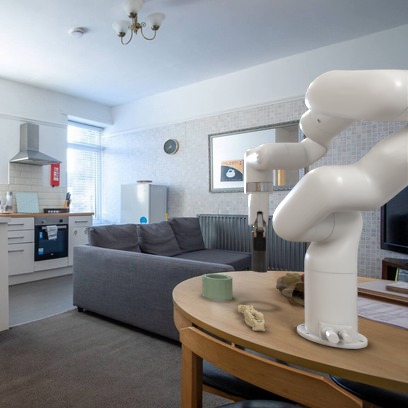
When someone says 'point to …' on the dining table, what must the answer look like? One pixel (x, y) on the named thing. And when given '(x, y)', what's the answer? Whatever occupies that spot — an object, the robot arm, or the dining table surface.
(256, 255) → the peg
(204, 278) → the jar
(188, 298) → the dining table surface
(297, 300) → the figurine
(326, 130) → the robot arm
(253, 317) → the beige lumpy bar
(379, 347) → the dining table surface
